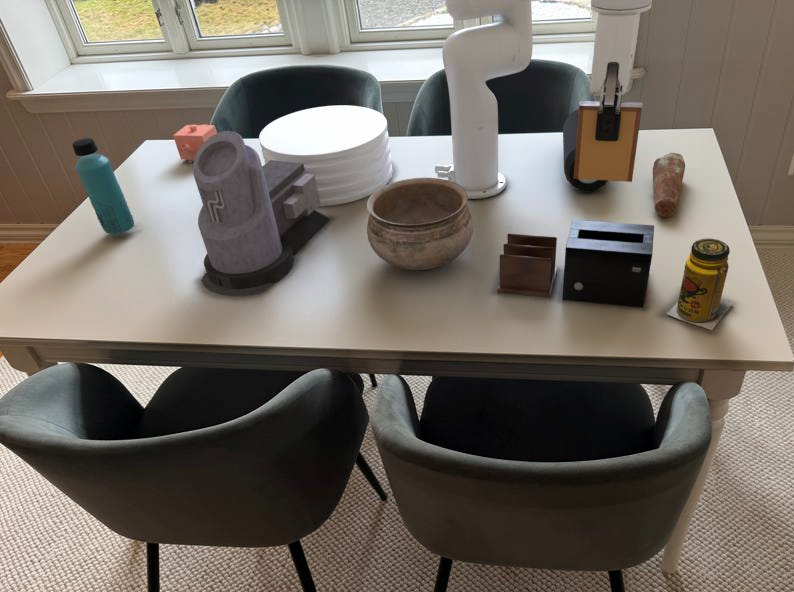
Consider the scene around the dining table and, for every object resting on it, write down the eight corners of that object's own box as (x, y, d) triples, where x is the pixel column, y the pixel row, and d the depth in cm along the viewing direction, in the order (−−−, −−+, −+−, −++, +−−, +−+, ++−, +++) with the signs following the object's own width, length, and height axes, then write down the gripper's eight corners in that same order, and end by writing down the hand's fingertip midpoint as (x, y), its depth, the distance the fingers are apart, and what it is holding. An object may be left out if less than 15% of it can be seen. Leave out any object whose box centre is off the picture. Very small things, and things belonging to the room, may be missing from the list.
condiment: (665, 315, 105) (678, 249, 98) (688, 290, 110) (702, 225, 102) (711, 331, 102) (728, 264, 94) (733, 304, 106) (750, 238, 99)
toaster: (561, 303, 110) (564, 250, 103) (568, 270, 117) (572, 219, 111) (643, 311, 107) (652, 257, 100) (645, 277, 114) (654, 225, 107)
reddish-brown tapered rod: (683, 177, 141) (687, 152, 137) (677, 221, 127) (682, 194, 124) (651, 175, 142) (655, 150, 139) (643, 218, 129) (647, 191, 125)
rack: (497, 292, 114) (496, 256, 109) (506, 266, 120) (506, 231, 115) (550, 297, 111) (552, 261, 107) (557, 270, 117) (559, 235, 113)
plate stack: (416, 163, 156) (411, 114, 148) (342, 216, 138) (332, 164, 131) (323, 145, 168) (315, 99, 161) (245, 191, 151) (231, 142, 143)
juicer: (260, 302, 116) (221, 169, 101) (185, 288, 122) (138, 160, 106) (339, 220, 137) (317, 99, 121) (273, 211, 142) (244, 94, 127)
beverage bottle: (144, 228, 141) (108, 135, 128) (121, 243, 136) (81, 149, 123) (121, 223, 143) (83, 132, 130) (98, 238, 139) (56, 145, 126)
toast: (573, 178, 101) (579, 105, 94) (575, 173, 102) (580, 100, 95) (631, 181, 99) (642, 107, 92) (632, 176, 100) (642, 102, 93)
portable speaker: (612, 196, 137) (617, 149, 130) (562, 196, 138) (565, 150, 132) (604, 145, 156) (608, 102, 149) (561, 146, 157) (563, 103, 151)
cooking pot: (453, 305, 112) (450, 241, 104) (349, 292, 117) (338, 230, 109) (488, 231, 129) (487, 172, 122) (397, 223, 135) (390, 165, 127)
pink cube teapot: (175, 168, 164) (164, 135, 158) (198, 148, 172) (188, 117, 167) (204, 169, 162) (194, 136, 157) (226, 149, 171) (217, 117, 165)
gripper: (597, -20, 91) (586, 115, 103) (585, 11, 80) (574, 158, 92) (654, -21, 89) (636, 116, 101) (650, 11, 78) (631, 161, 90)
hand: (607, 135), depth 96 cm, fingers closed on toast, 1 cm apart
